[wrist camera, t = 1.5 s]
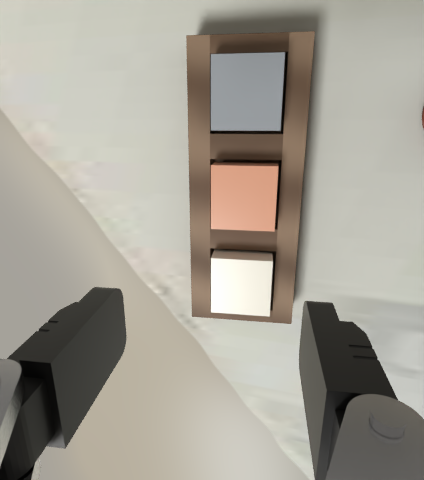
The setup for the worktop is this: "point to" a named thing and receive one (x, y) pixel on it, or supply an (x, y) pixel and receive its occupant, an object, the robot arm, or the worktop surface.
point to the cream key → (241, 282)
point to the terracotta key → (243, 196)
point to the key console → (248, 151)
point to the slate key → (247, 91)
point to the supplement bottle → (423, 118)
